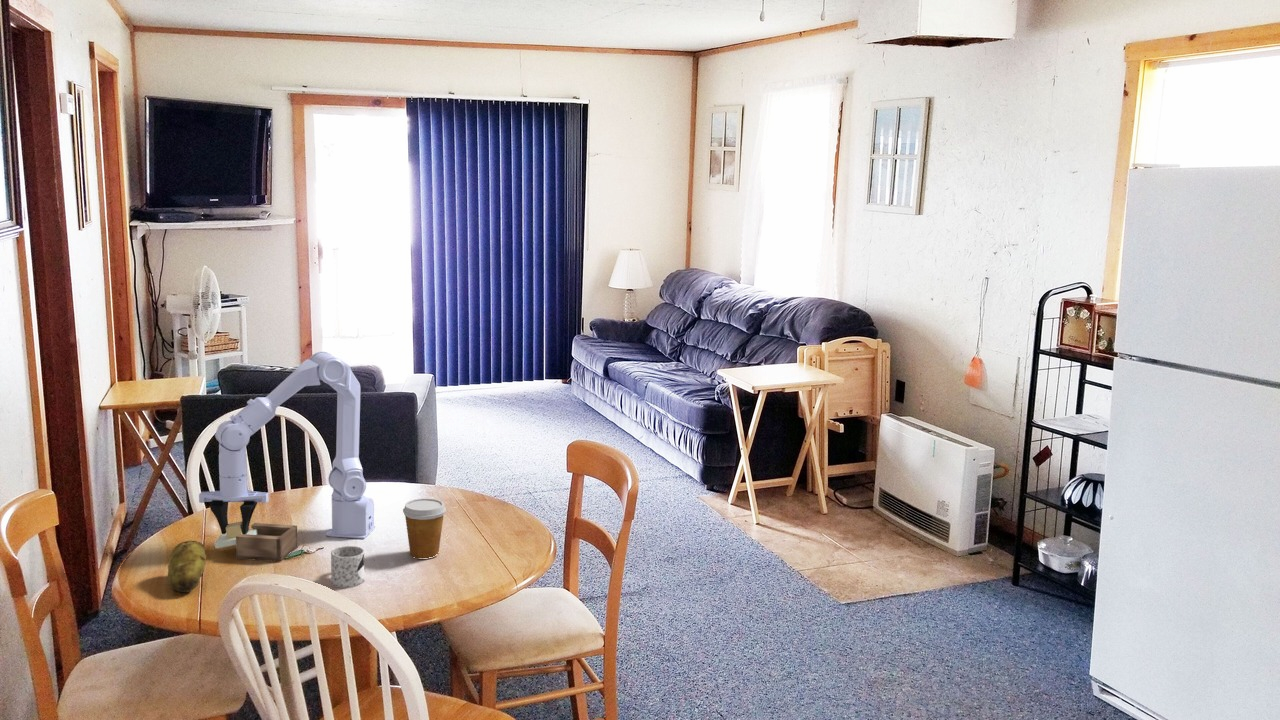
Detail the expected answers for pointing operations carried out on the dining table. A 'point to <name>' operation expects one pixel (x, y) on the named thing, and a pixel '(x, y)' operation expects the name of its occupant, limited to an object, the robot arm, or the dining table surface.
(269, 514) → the dining table surface
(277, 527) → the walnut box
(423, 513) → the disposable coffee cup
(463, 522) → the dining table surface
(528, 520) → the dining table surface
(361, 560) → the mug
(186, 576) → the potato
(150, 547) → the dining table surface
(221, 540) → the cover plate
